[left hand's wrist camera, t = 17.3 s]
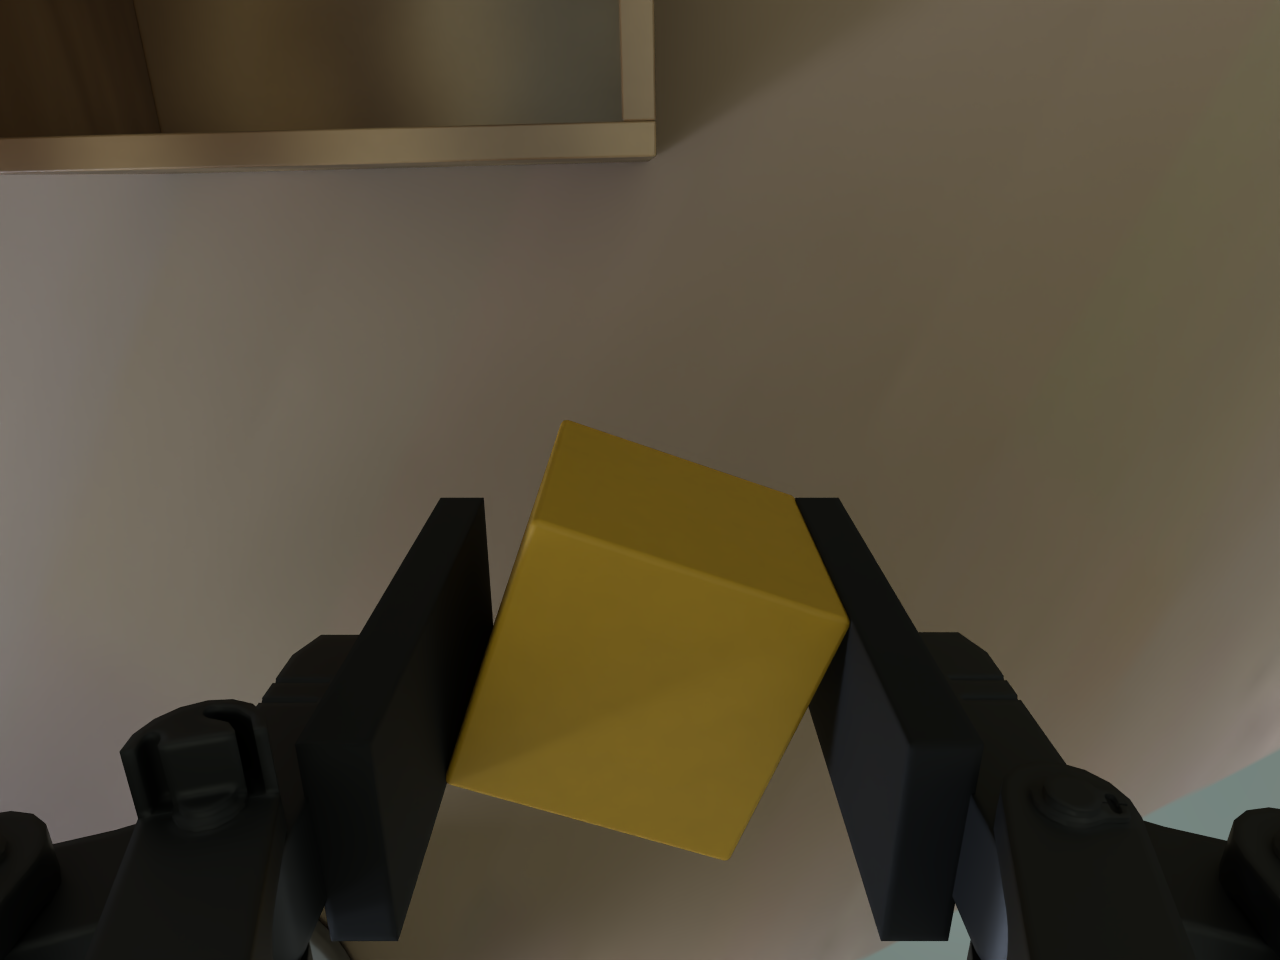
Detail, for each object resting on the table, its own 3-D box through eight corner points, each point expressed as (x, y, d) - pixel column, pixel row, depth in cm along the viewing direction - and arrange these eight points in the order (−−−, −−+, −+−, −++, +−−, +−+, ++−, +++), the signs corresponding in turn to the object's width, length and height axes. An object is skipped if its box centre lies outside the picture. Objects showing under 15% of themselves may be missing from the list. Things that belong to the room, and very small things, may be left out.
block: (795, 495, 15) (854, 622, 11) (707, 688, 16) (729, 864, 12) (563, 416, 14) (530, 519, 10) (493, 623, 16) (442, 785, 11)
